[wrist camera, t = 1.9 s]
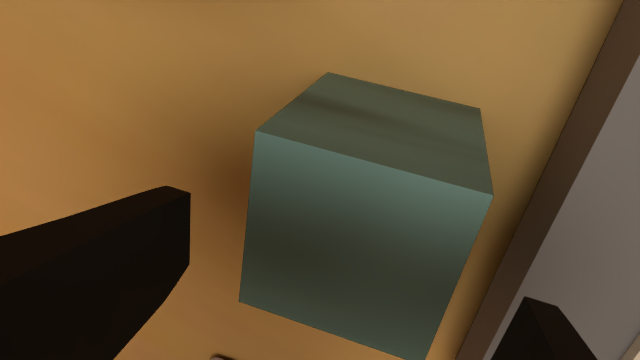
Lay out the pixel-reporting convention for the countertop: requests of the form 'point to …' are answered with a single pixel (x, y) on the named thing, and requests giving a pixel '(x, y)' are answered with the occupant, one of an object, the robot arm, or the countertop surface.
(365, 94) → the block
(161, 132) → the countertop surface
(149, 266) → the robot arm
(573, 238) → the frame
